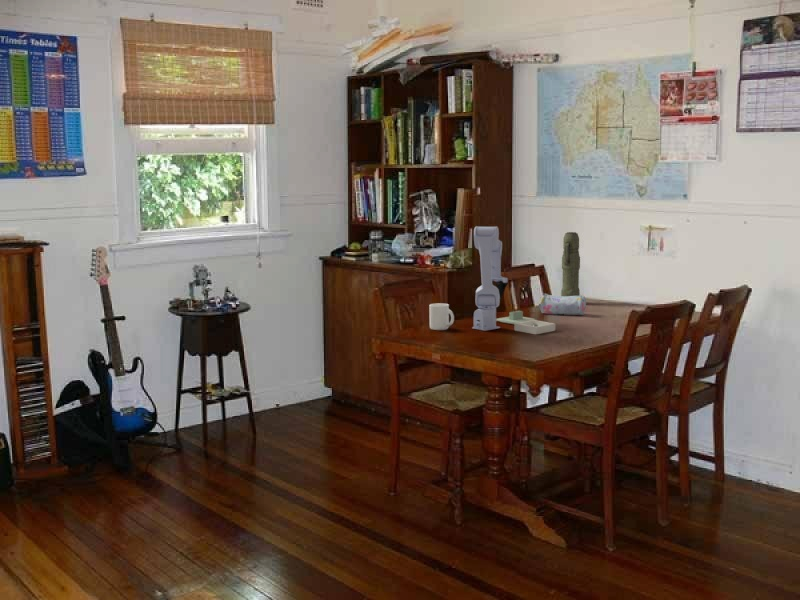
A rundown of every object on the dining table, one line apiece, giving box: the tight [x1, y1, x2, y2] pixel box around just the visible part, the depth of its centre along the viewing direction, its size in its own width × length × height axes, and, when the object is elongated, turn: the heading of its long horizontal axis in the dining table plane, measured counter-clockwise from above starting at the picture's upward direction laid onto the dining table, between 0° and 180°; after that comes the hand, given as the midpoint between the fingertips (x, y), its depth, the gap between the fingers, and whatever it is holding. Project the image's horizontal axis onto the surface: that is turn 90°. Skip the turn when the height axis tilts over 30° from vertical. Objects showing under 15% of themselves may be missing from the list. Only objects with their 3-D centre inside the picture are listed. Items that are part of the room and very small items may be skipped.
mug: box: [428, 302, 455, 331], centre depth 397 cm, size 12×8×10 cm
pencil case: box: [538, 293, 587, 316], centre depth 429 cm, size 21×9×10 cm, turn 64°
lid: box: [496, 310, 537, 325], centre depth 411 cm, size 12×12×5 cm
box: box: [513, 319, 556, 335], centre depth 391 cm, size 12×12×3 cm
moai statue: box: [560, 231, 581, 296], centre depth 457 cm, size 9×12×35 cm
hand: (494, 297), depth 415 cm, fingers open, 7 cm apart
